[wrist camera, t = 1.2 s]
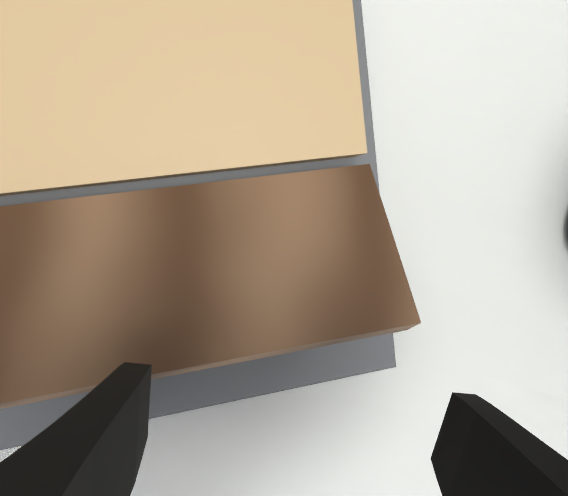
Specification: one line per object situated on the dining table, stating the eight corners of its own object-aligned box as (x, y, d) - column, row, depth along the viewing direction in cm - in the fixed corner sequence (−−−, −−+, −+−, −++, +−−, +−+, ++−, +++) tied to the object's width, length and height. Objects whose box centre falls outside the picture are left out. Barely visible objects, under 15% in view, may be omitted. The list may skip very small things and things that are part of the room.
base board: (-37, 447, 18) (-72, 482, 16) (-138, 15, 16) (-196, -18, 14) (387, 359, 22) (409, 377, 19) (351, -4, 20) (372, -33, 17)
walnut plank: (-103, 428, 13) (-139, 430, 12) (-80, 234, 16) (-107, 218, 15) (406, 329, 17) (420, 322, 15) (360, 180, 19) (369, 164, 18)
